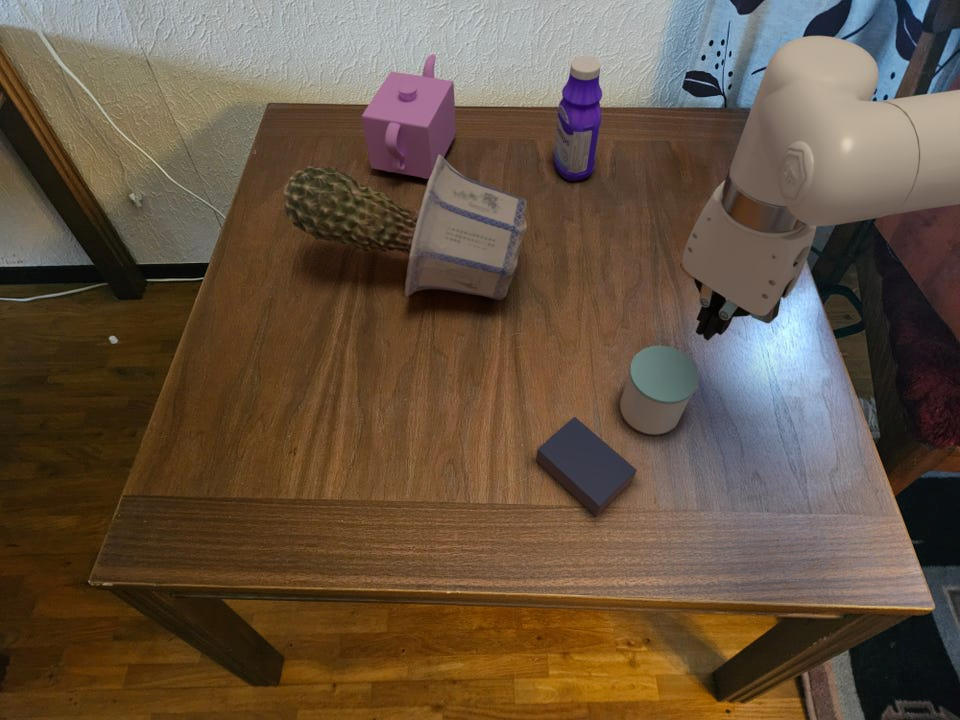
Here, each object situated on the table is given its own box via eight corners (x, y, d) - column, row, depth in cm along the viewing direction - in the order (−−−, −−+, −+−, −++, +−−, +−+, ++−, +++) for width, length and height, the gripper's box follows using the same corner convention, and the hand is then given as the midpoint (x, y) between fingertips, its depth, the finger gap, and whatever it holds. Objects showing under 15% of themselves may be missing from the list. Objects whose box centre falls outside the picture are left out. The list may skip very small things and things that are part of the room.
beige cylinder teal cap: (612, 411, 78) (666, 348, 77) (658, 451, 75) (716, 386, 74) (593, 397, 69) (654, 326, 68) (645, 442, 66) (710, 367, 65)
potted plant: (544, 153, 80) (305, 87, 76) (531, 262, 70) (258, 192, 67) (508, 244, 94) (307, 191, 91) (494, 343, 85) (268, 290, 81)
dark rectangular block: (632, 481, 70) (637, 470, 67) (595, 517, 68) (599, 506, 65) (571, 428, 74) (574, 415, 71) (535, 460, 71) (536, 448, 69)
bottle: (547, 158, 102) (556, 53, 87) (580, 151, 103) (594, 46, 88) (564, 187, 98) (576, 82, 83) (598, 179, 99) (616, 74, 84)
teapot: (428, 198, 97) (420, 126, 86) (366, 186, 98) (352, 114, 88) (466, 121, 108) (464, 49, 97) (410, 112, 109) (402, 40, 99)
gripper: (873, 217, 52) (789, 350, 67) (720, 138, 59) (674, 276, 74) (826, 262, 49) (749, 391, 64) (670, 174, 56) (633, 310, 71)
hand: (709, 329), depth 69 cm, fingers closed
